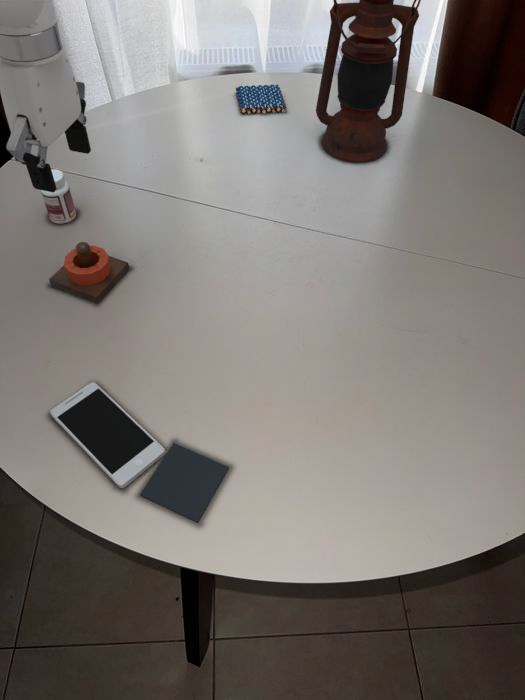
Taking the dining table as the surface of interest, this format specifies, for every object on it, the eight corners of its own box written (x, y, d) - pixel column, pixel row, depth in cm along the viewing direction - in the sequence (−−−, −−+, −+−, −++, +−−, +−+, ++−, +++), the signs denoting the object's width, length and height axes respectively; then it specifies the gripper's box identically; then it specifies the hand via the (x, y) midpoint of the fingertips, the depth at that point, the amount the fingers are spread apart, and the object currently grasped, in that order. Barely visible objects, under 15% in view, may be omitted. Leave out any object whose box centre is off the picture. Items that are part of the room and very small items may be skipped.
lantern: (392, 129, 126) (425, -27, 103) (397, 165, 117) (434, 2, 94) (312, 125, 127) (327, -32, 104) (312, 160, 118) (328, -3, 95)
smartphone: (121, 490, 70) (120, 486, 70) (50, 415, 77) (48, 411, 76) (166, 453, 74) (166, 449, 73) (94, 384, 80) (93, 380, 80)
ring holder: (97, 304, 91) (88, 270, 85) (51, 286, 93) (38, 252, 87) (129, 269, 96) (122, 235, 90) (84, 253, 98) (75, 218, 93)
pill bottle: (68, 204, 107) (57, 164, 100) (81, 217, 104) (70, 177, 98) (44, 214, 105) (31, 174, 98) (57, 227, 102) (44, 187, 96)
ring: (94, 290, 90) (91, 279, 88) (58, 277, 92) (54, 265, 90) (119, 264, 94) (116, 252, 92) (84, 252, 96) (81, 240, 94)
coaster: (197, 523, 68) (197, 521, 68) (139, 495, 70) (139, 494, 70) (229, 468, 73) (228, 466, 73) (173, 443, 75) (173, 442, 75)
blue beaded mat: (287, 113, 130) (287, 104, 128) (240, 115, 129) (240, 106, 127) (279, 91, 136) (280, 82, 135) (235, 93, 135) (234, 84, 134)
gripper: (37, 7, 73) (69, 133, 86) (-47, 66, 62) (4, 200, 75) (92, 15, 72) (116, 142, 85) (16, 77, 61) (56, 211, 74)
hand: (63, 169), depth 80 cm, fingers open, 9 cm apart
